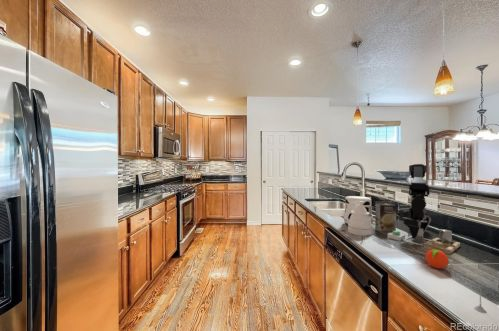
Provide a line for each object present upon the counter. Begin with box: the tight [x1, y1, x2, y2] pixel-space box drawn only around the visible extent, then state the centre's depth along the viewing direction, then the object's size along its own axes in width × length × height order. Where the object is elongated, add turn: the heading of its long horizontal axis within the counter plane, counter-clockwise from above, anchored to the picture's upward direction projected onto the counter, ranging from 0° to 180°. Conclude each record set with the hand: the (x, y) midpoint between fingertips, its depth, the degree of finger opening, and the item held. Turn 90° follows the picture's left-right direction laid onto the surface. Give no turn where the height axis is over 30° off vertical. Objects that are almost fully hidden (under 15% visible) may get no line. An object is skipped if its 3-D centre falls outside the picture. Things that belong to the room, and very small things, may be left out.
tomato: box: [425, 249, 449, 269], centre depth 87 cm, size 8×7×7 cm
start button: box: [393, 230, 401, 236], centre depth 120 cm, size 3×3×2 cm
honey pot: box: [347, 201, 373, 237], centre depth 132 cm, size 13×13×18 cm
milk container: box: [343, 195, 374, 225], centre depth 148 cm, size 17×17×18 cm
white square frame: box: [387, 232, 406, 242], centre depth 120 cm, size 6×6×3 cm
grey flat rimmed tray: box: [401, 235, 432, 247], centre depth 116 cm, size 13×9×1 cm
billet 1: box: [411, 228, 424, 243], centre depth 116 cm, size 5×5×7 cm
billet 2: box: [438, 228, 453, 245], centre depth 110 cm, size 5×5×7 cm
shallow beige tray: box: [423, 237, 461, 255], centre depth 107 cm, size 17×9×3 cm, turn 126°
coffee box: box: [374, 202, 397, 233], centre depth 136 cm, size 9×6×16 cm
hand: (417, 236), depth 116 cm, fingers open, 9 cm apart
